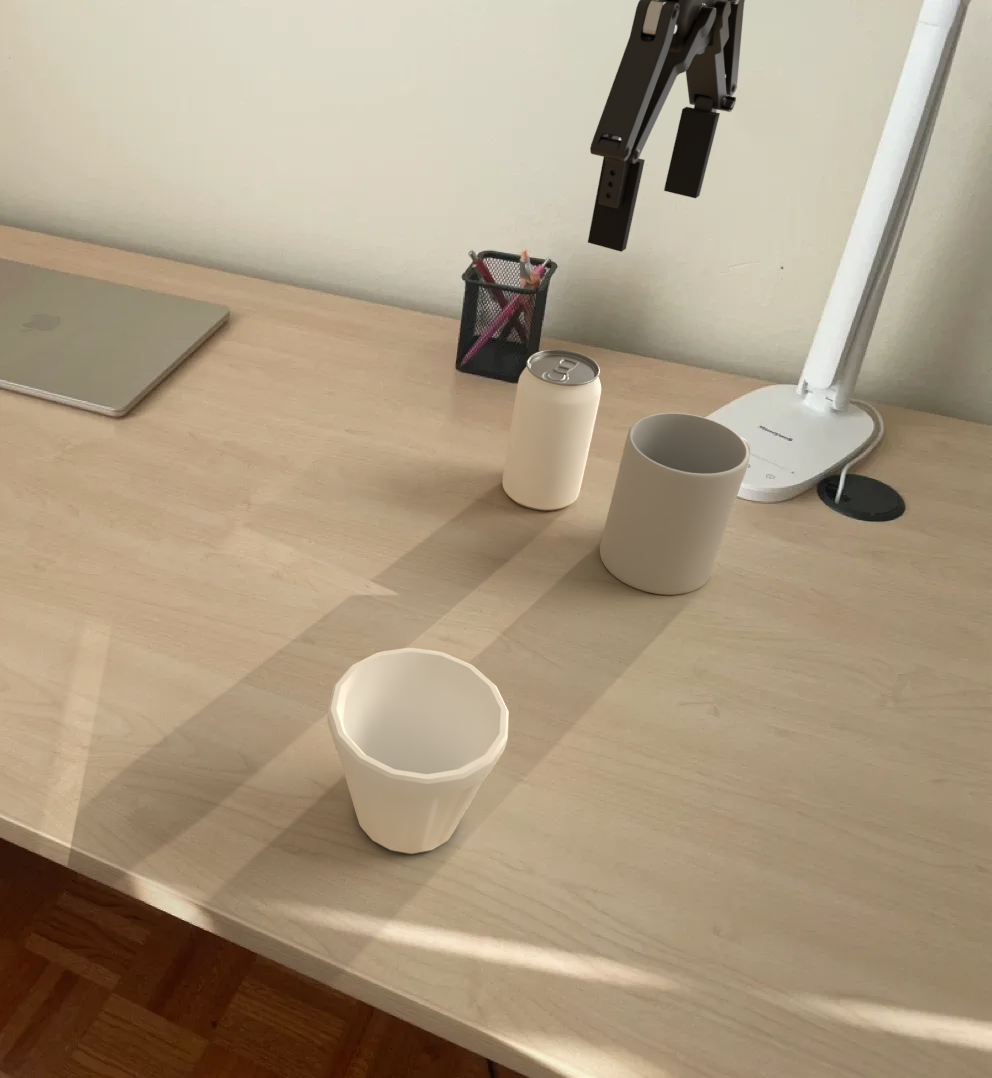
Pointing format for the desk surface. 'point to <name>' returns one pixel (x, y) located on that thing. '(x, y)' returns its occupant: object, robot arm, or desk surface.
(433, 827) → the cup
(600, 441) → the desk surface
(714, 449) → the mug
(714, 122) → the robot arm
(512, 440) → the can
